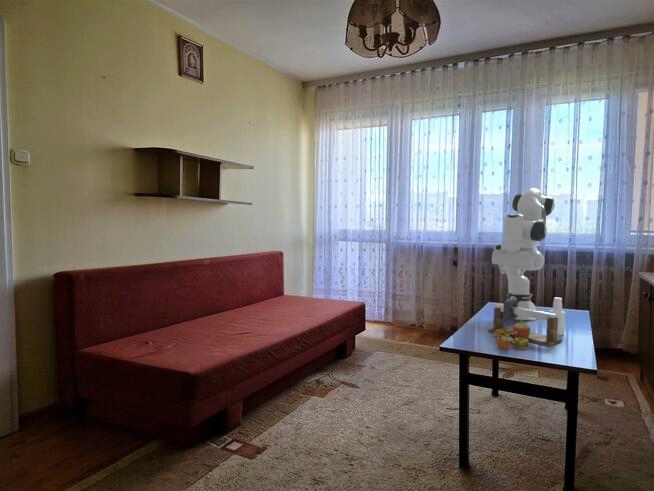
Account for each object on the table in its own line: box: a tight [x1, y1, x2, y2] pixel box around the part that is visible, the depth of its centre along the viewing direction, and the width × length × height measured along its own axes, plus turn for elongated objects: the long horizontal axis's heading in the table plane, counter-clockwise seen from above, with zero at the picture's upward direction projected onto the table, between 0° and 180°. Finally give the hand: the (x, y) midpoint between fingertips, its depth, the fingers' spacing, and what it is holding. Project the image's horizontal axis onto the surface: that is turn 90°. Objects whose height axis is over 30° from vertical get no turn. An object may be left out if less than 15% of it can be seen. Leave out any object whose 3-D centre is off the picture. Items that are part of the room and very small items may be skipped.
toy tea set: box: [493, 320, 531, 350], centre depth 191 cm, size 26×16×10 cm, turn 158°
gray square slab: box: [503, 299, 518, 321], centre depth 207 cm, size 2×9×9 cm, turn 128°
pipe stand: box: [487, 303, 563, 348], centre depth 202 cm, size 30×12×14 cm, turn 38°
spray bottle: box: [548, 296, 566, 336], centre depth 208 cm, size 7×7×18 cm
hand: (511, 275), depth 206 cm, fingers open, 8 cm apart
